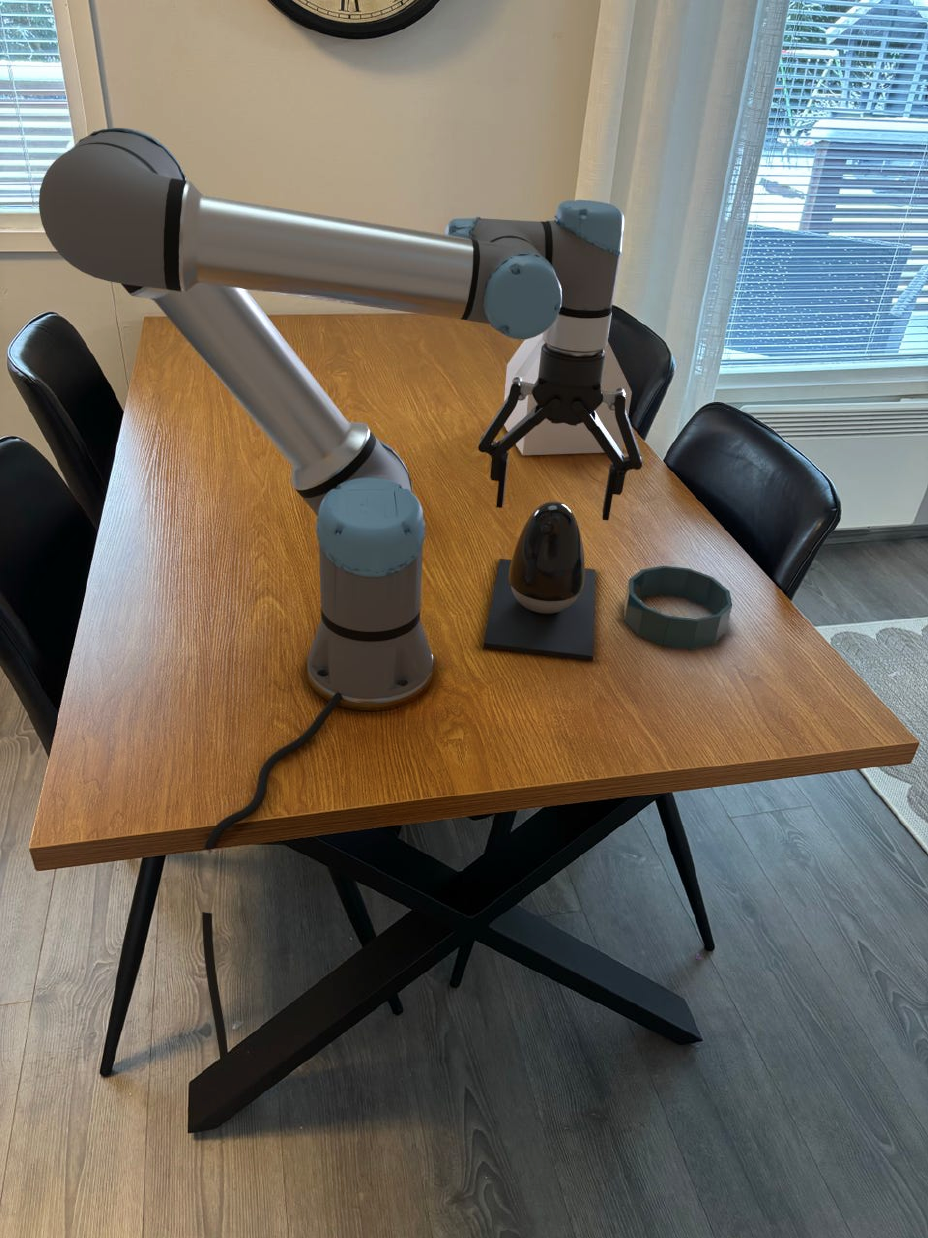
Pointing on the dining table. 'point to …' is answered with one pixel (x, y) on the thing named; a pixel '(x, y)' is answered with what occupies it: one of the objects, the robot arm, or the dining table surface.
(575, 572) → the dark glossy rounded piece
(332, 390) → the dining table surface
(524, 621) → the rubber mat
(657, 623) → the teal ring
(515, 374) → the white pentagonal block
